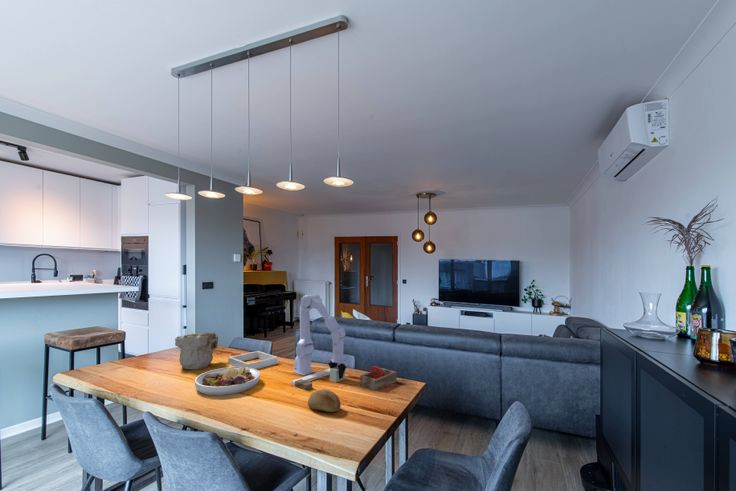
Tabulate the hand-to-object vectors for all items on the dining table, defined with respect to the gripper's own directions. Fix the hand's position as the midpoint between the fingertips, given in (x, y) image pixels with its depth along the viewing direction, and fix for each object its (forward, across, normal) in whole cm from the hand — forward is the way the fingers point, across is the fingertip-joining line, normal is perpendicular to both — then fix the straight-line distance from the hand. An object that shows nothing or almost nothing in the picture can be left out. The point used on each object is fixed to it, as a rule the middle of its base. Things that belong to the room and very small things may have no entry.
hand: (337, 377), depth 175 cm
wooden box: (+1, +20, +10) cm, 22 cm away
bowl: (+2, -35, -42) cm, 55 cm away
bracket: (+2, +20, +10) cm, 22 cm away
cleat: (+1, -5, -19) cm, 20 cm away
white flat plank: (+1, -11, -6) cm, 13 cm away
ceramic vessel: (+2, -79, -37) cm, 87 cm away
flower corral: (+1, -58, -14) cm, 60 cm away
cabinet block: (+1, 0, 0) cm, 1 cm away
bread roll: (+2, +21, -30) cm, 36 cm away
